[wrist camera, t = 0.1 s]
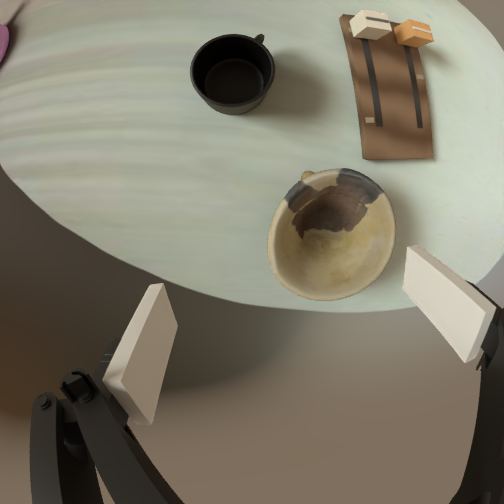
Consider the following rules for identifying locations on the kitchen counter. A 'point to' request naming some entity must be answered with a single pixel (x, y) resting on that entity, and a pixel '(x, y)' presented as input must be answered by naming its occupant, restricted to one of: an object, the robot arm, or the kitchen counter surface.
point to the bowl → (331, 235)
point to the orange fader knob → (413, 33)
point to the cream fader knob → (370, 25)
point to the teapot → (3, 40)
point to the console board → (389, 96)
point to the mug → (233, 73)
